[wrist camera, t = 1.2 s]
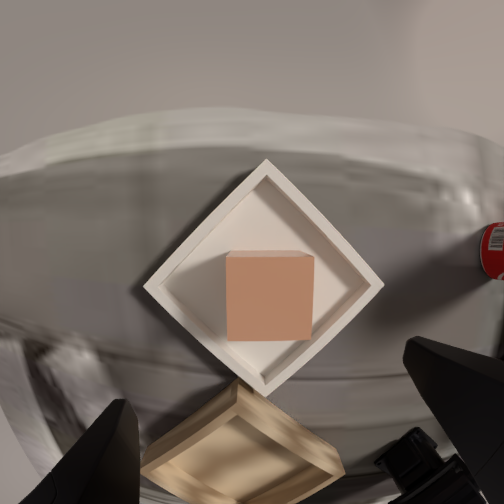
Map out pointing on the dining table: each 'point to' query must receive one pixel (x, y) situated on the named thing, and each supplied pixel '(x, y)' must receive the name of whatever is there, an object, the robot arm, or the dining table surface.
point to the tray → (263, 238)
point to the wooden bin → (241, 454)
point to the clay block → (269, 295)
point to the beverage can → (493, 251)
